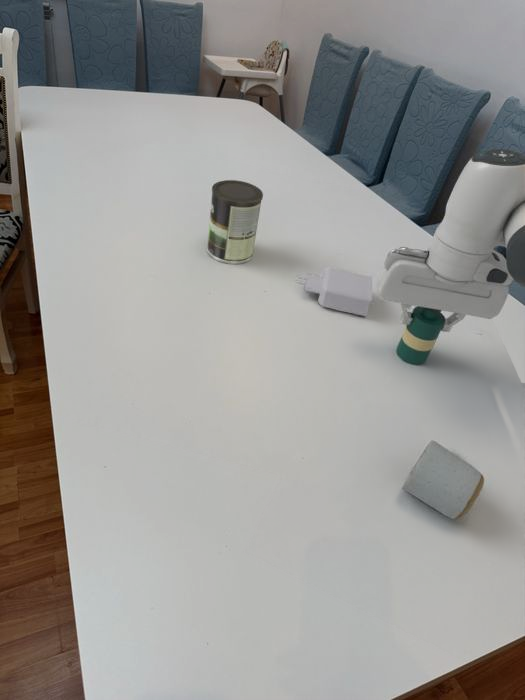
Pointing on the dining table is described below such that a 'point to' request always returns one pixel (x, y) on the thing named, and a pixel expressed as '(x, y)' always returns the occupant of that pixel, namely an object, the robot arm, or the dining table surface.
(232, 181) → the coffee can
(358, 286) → the charger
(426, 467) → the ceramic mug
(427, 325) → the bottle
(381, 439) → the dining table surface
